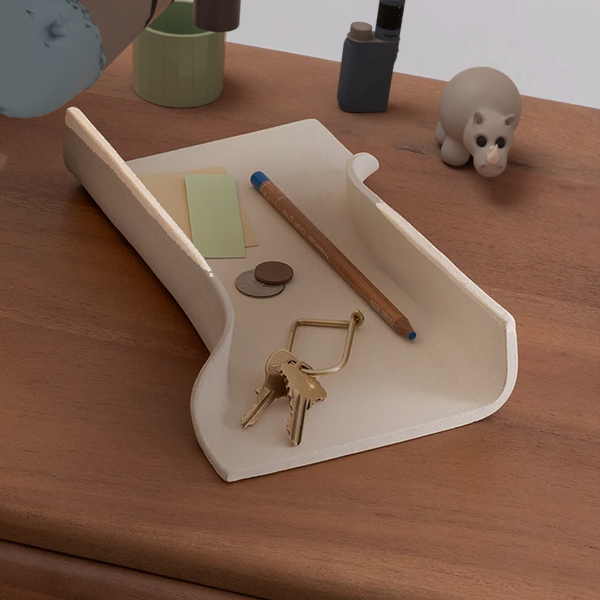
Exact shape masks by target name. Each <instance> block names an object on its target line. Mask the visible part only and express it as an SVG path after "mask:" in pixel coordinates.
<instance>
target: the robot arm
mask: <svg viewBox="0 0 600 600" xmlns="http://www.w3.org/2000/svg"><path fill="white" fill-rule="evenodd" d="M174 1H175V0H0V114H1V115H5V116H6V117H10V118H18V119H32V118H39V117H43V116H46V115H49V114H51V113H53V112H55V111H57V110H59V109H60V108H62V107H63V106H64V105H65V104H67V103H68V102H70V101H71V100H72V99H74V98H75V97H76V96H78V95H79V94H80V93H81V92H84V91H87V90H88V89H90V88H92V87H93V86H94V85H95V84H96V82H98V80H99V79H100V77H101V75H102V74H103V72H105V70H106V69H107V68H108V67H109V66H110V65H111V64H112V63H113V62H114V61H115V60H116V59H117V58H118V57H119V56H120V55H121V54H122V53H123V52H124V51H125V50H126V49H127V48H128V47H129V46H130V45H131V44H132V41H133V40H134V39H135V38H136V37H137V36H138V35H139V34H140V33H141V32H142V31H143V30H144V29H145V28H147V27H148V26H149V25H150V24H151V23H152V22H153V21H154V20H155V19H156V18H157V17H158V16H159V15H160V14H161V13H162V12H163V11H164V10H165V9H166V8H167V7H168V6H169V5H170V4H171V3H172V2H174Z"/></svg>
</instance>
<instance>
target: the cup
mask: <svg viewBox="0 0 600 600" xmlns="http://www.w3.org/2000/svg"><path fill="white" fill-rule="evenodd" d="M226 48H227V32H210V31H205V30H202V29H200V28H198V27H196V26H195V25H194V23H193V0H175V1H174V2H172V3H171V4H170V5H169V6H168V7H167V8H166V9H165V10H164V11H163V12H162V13H161V14H160V15H159V16H158V17H157V18H156V19H155V20H154V21H153V22H152V23H151V24H150V25H149V26H148V27H147V28H145V29H144V30H143V31H142V32H141V33H140V34H139V35H138V36H137V37H136V38H135V39H134V40H133V41H132V42H131V81H132V83H131V84H132V89H133V91H134V93H135V94H136V95H137V96H138V97H140V98H141V99H143V100H144V101H147V102H149V103H151V104H154V105H158V106H163V107H169V108H175V109H176V108H177V109H178V108H179V109H180V108H181V109H183V108H184V109H186V108H187V109H188V108H196V107H201V106H205V105H208V104H211V103H213V102H215V101H216V100H218V99H219V98H220V97H221V95H222V94H223V91H224V90H223V89H224V83H225V68H226V67H225V66H226Z"/></svg>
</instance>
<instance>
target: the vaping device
mask: <svg viewBox="0 0 600 600" xmlns="http://www.w3.org/2000/svg"><path fill="white" fill-rule="evenodd" d="M405 5H406V0H378V7H377V13H376V21H375V28H374V30H373V25H371V24H370V23H368V22H364V21H355V22H352V23H351V24H350V27H349V32H347V34H346V37H345V38H344V41H343V45H342V52H341V60H340V69H339V75H338V83H337V84H338V85H337V92H336V102H337V103H338V105H337V106H338V107H339V108H340V110H342V111H344V112H347V113H373V112H374V113H375V112H386V111H387V110H388V106H389V98H390V92H391V86H392V81H393V80H392V79H393V73H394V68H395V63H396V61H397V59H398V53H399V52H400V48H399V46H400V41H401V32H402V31H401V30H402V25H403V18H404V12H405Z"/></svg>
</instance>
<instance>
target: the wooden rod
mask: <svg viewBox="0 0 600 600" xmlns="http://www.w3.org/2000/svg"><path fill="white" fill-rule="evenodd" d="M192 1H193V23H194V25H195V26H196V27H198V28H200V29H202V30H205V31H210V32H226V33H228V32H233V31H235V30H237V29H238V28H239V27H240V22H241V6H242V0H192Z"/></svg>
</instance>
